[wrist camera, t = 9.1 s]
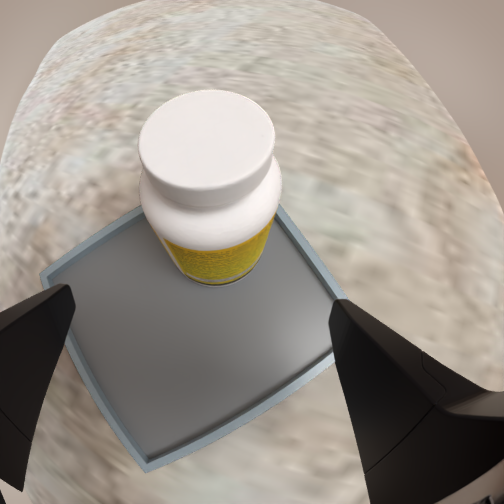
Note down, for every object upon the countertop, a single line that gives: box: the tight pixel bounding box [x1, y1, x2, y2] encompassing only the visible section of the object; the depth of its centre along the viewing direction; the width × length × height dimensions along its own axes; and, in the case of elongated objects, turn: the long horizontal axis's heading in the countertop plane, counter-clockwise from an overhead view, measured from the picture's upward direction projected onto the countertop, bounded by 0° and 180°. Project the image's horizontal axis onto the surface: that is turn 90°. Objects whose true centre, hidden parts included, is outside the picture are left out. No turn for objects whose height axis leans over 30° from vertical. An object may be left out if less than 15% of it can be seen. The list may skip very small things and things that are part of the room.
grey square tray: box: [39, 204, 350, 473], centre depth 19 cm, size 18×16×4 cm
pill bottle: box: [138, 90, 282, 287], centre depth 14 cm, size 6×6×11 cm
